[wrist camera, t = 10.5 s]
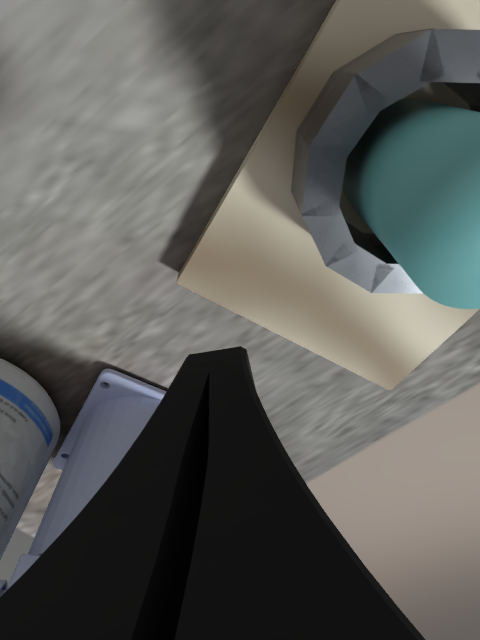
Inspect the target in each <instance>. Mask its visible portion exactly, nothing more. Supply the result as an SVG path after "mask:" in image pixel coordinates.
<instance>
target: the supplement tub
mask: <svg viewBox="0 0 480 640" xmlns="http://www.w3.org/2000/svg"><path fill="white" fill-rule="evenodd" d="M59 435H60V419H59V415H58V412H57V410H56V408H55V406H54V404H53V402H52V400H51V398H50V397H49V395H48V394H47V392H46V391H45V390H44V389H43V387H42V386H41V385H40V384H39V383H38V382H37V381H36V380H35V379H33V378H32V377H31V376H30V375H28V374H27V373H26V372H24V371H23V370H21V369H20V368H18V367H17V366H15V365H13V364H11V363H9V362H7V361H5V360H3V359H1V358H0V559H1V557H2V555H3V553H4V551H5V549H6V546H7V544H8V543H9V541H10V538H11V537H12V534H13V532H14V530H15V528H16V526H17V524H18V522H19V520H20V518H21V516H22V514H23V512H24V510H25V508H26V506H27V504H28V502H29V500H30V498H31V496H32V493H33V491H34V489H35V487H36V485H37V483H38V481H39V479H40V477H41V475H42V473H43V471H44V469H45V467H46V465H47V463H48V461H49V459H50V457H51V454H52V452H53V450H54V448H55V446H56V444H57V442H58V439H59Z"/></svg>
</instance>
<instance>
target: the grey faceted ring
mask: <svg viewBox="0 0 480 640" xmlns="http://www.w3.org/2000/svg"><path fill="white" fill-rule="evenodd" d="M431 82H443V83H445V84H446V85H447V86H448V87H449V88H450V89H452V90H453V91H454V92H455V93H456V94H457V95H459V96H460V97H461V98H462V99H463V100H464V101H466V102H467V103H468V104H469V108H470V110H472V111H476V112H480V30H466V29H434V28H430V29H424V30H418V31H411V32H405V33H398V34H394V35H393V36H391V37H390V38H388V39H386V40H385V41H383V42H381V43H380V44H378V45H376V46H375V47H373V48H371V49H370V50H368V51H366V52H365V53H363V54H362V55H360V56H358V57H357V58H355V59H353V60H352V61H350V62H348V63H347V64H345V65H343V66H342V67H340V68H339V69H337V70H335V71H333V73H332V74H331V76H330V78H329V79H328V81H327V82H326V84H325V86H324V87H323V89H322V91H321V92H320V94H319V95H318V97H317V99H316V100H315V102H314V103H313V105H312V107H311V108H310V110H309V111H308V113H307V115H306V116H305V118H304V120H303V121H302V123H301V124H300V126H299V128H298V129H297V131H296V142H295V153H294V164H293V175H292V186H291V192H292V194H293V197H294V199H295V201H296V204H297V206H298V209H299V211H300V213H301V216H302V217H303V219H304V221H305V223H306V225H307V227H308V229H309V232H310V234H311V236H312V238H313V240H314V242H315V244H316V246H317V248H318V251H319V253H320V255H321V257H322V259H323V262H324V264H325V266H326V267H328V268H330V269H331V270H333V271H335V272H336V273H338V274H340V275H342V276H343V277H345V278H347V279H348V280H350V281H352V282H353V283H355V284H357V285H359V286H360V287H362V288H364V289H365V290H367V291H369V292H370V293H412V294H424V293H423V292H422V291H421V290H420V289H419V288H418V287H417V286H416V285H415V284H414V282H413V281H412V280H411V279H410V277H409V276H408V275H407V274H406V272H405V271H404V270H403V268H402V267H401V266H400V265H399V263H398V262H397V261H396V260H395V258H394V257H393V256H392V255H391V253H390V252H389V251H388V250H387V248H386V247H385V246H384V245H383V243H382V242H381V241H380V240H379V238H378V237H377V236H376V235H375V233H363V232H362V231H360V230H359V229H357V228H355V227H354V226H352V225H351V224H349V223H348V222H346V221H345V219H344V217H343V214H342V212H341V210H340V207H339V204H340V198H341V191H342V185H343V179H344V172H345V166H346V160H347V157H348V155H349V154H350V153H351V151H352V150H353V148H354V147H355V146H356V144H357V143H358V141H359V140H360V139H361V137H362V136H363V134H364V133H365V131H366V130H367V129H368V127H369V126H370V124H371V123H372V122H373V120H374V119H375V117H376V116H377V115H378V113H379V112H380V111H381V110H383V109H384V108H386V107H388V106H390V105H392V104H393V103H395V102H397V101H399V100H400V99H402V98H404V97H406V96H408V95H409V94H411V93H413V92H415V91H416V90H418V89H420V88H422V87H424V86H425V85H427V84H429V83H431Z"/></svg>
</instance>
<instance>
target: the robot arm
mask: <svg viewBox="0 0 480 640" xmlns="http://www.w3.org/2000/svg"><path fill="white" fill-rule="evenodd" d="M103 382H106V383H108V384H104V383H103ZM53 465H54V466H55V467H56V468H58V469H61V470H63V471H62V474H61V476H60V478H59V481H58V483H57V486H56V488H55V490H54V493H53V495H52V498H51V500H50V502H49V505H48V507H47V510H46V512H45V514H44V517H43V519H42V521H41V524H40V526H39V529H38V531H37V533H36V536H35V538H34V541H33V543H32V545H31V548H30V550H29V553H28V554H23V555H21V556H20V559H19V561H18V563H17V566H16V568H15V570H14V573H13V575H12V577H11V580H10V582H9V584H8V586H7V580H2V579H0V640H425V639H424V637H423V636H422V635H421V634H420V633H419V632H418V630H417V629H416V628H415V627H414V626H413V624H412V623H411V622H410V621H409V620H408V618H406V616H405V615H404V614H403V613H402V611H401V610H400V609H399V608H398V607H397V605H396V604H395V603H394V602H393V600H392V599H391V598H390V597H389V595H388V594H387V593H386V592H385V590H384V589H383V588H382V587H381V585H380V584H379V583H378V582H377V581H376V579H375V578H374V577H373V575H372V574H371V573H370V572H369V571H368V569H367V568H366V567H365V566H364V564H363V563H362V561H361V560H360V559H359V557H358V556H357V555H356V553H355V552H354V551H353V549H352V548H351V547H350V545H349V544H348V543H347V541H346V540H345V539H344V537H343V536H342V534H341V533H340V532H339V531H338V529H337V528H336V526H335V525H334V524H333V522H332V521H331V520H330V518H329V517H328V516H327V514H326V513H325V512H324V510H323V509H322V507H321V506H320V504H319V503H318V501H317V500H316V498H315V497H314V495H313V494H312V492H311V491H310V489H309V488H308V487H307V485H306V483H305V482H304V480H303V478H302V477H301V475H300V474H299V472H298V471H297V469H296V467H295V466H294V464H293V462H292V461H291V459H290V457H289V456H288V454H287V452H286V451H285V449H284V447H283V445H282V443H281V442H280V440H279V438H278V436H277V434H276V432H275V431H274V429H273V427H272V425H271V423H270V421H269V419H268V417H267V415H266V412H265V410H264V408H263V406H262V404H261V401H260V399H259V397H258V395H257V392H256V389H255V385H254V380H253V376H252V372H251V367H250V363H249V359H248V354H247V350H246V349H244V348H242V347H234V348H228V349H222V350H216V351H209V352H203V353H197V354H190V355H188V357H187V358H186V359H185V361H184V363H183V364H182V366H181V368H180V370H179V371H178V373H177V375H176V377H175V378H174V380H173V382H172V383H171V385H170V387H169V389H168V390H167V392H166V391H164V390H161V389H159V388H157V387H154V386H152V385H149V384H147V383H144V382H142V381H140V380H137V379H135V378H132V377H130V376H127V375H125V374H123V373H120V372H118V371H115V370H113V369H104V370H103V371H102V372H101V373H100V375H99V377H98V379H97V381H96V382H95V384H94V386H93V388H92V390H91V392H90V393H89V395H88V397H87V399H86V401H85V403H84V405H83V406H82V408H81V410H80V412H79V414H78V416H77V418H76V419H75V421H74V423H73V425H72V427H71V429H70V431H69V432H68V434H67V436H66V438H65V440H64V442H63V444H62V445H61V447H60V449H59V451H58V453H57V455H56V456H55V458H54V461H53ZM6 588H7V589H6Z"/></svg>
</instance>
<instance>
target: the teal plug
mask: <svg viewBox="0 0 480 640" xmlns="http://www.w3.org/2000/svg"><path fill="white" fill-rule="evenodd" d="M342 187H343V190H344V193H345V195H346V197H347V199H348V200H349V202H350V203H351V204H352V206H353V207H354V208H355V210H356V211H357V212H358V213H359V215H360V216H361V217H362V218H363V220H364V221H365V222H366V223H367V225H368V226H369V227H370V228H371V230H372V231H373V232H374V233H375V235H376V236H377V237H378V238H379V240H380V241H381V242H382V243H383V245H384V246H385V247H386V248H387V250H388V251H389V252H390V253H391V255H392V256H393V257H394V258H395V260H396V261H397V262H398V263H399V265H400V266H401V267H402V268H403V270H404V271H405V272H406V274H407V275H408V276H409V277H410V279H411V280H412V281H413V282H414V284H415V285H416V286H417V287H418V288H419V289H420V290H421V291H422V292H423V293H424V294H425V295H426V296H427V297H429V298H430V299H432V300H434V301H435V302H437V303H439V304H442V305H445V306H448V307H453V308H458V309H480V112H476V111H472V110H467V109H462V108H458V107H453V106H449V105H444V104H440V103H435V102H431V101H426V100H422V99H403V100H399V101H397V102H395V103H393V104H392V105H390V106H388V107H386V108H384V109H383V110H381V111H380V112H379V113H378V115H377V116H376V117H375V119H374V120H373V122H372V123H371V124H370V126H369V127H368V129H367V130H366V131H365V133H364V134H363V136H362V137H361V139H360V140H359V141H358V143H357V144H356V146H355V147H354V148H353V150H352V151H351V153H350V154H349V155H348V157H347V160H346V166H345V172H344V179H343V185H342Z"/></svg>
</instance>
